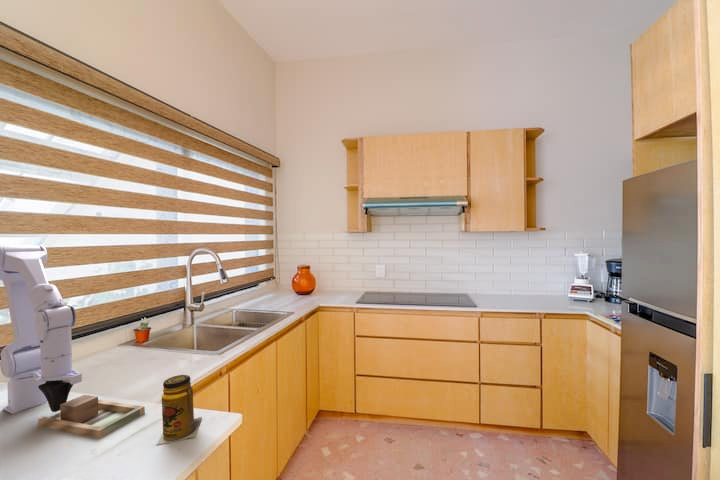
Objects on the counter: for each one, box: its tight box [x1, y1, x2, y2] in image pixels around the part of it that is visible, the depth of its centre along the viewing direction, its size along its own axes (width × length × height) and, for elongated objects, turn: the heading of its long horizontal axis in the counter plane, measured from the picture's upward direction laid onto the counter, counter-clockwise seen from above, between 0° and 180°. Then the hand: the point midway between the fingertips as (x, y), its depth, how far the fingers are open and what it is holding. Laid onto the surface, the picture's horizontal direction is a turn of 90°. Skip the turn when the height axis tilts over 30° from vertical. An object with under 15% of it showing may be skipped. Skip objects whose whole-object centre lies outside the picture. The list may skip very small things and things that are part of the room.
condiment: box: [156, 374, 203, 445], centre depth 72 cm, size 7×8×12 cm
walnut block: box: [59, 394, 99, 423], centre depth 77 cm, size 5×5×4 cm
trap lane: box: [37, 399, 146, 439], centre depth 76 cm, size 20×10×2 cm, turn 73°
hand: (58, 409), depth 80 cm, fingers closed
